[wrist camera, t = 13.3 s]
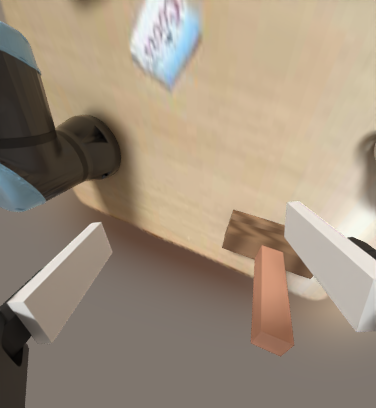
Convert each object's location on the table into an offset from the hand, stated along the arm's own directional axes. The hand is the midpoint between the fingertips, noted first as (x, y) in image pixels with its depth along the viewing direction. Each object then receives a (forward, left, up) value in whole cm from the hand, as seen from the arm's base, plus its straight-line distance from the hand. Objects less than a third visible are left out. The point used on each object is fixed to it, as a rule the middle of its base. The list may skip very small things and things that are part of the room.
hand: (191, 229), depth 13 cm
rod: (+13, -18, -20) cm, 30 cm away
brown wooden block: (+13, -18, -27) cm, 35 cm away
